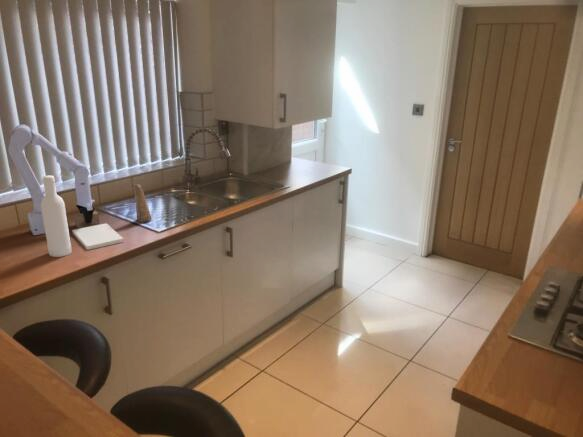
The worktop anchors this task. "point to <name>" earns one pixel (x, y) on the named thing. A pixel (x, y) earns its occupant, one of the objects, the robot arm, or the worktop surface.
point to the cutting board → (97, 236)
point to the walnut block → (81, 221)
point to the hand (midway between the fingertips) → (87, 221)
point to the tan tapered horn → (141, 205)
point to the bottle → (55, 220)
